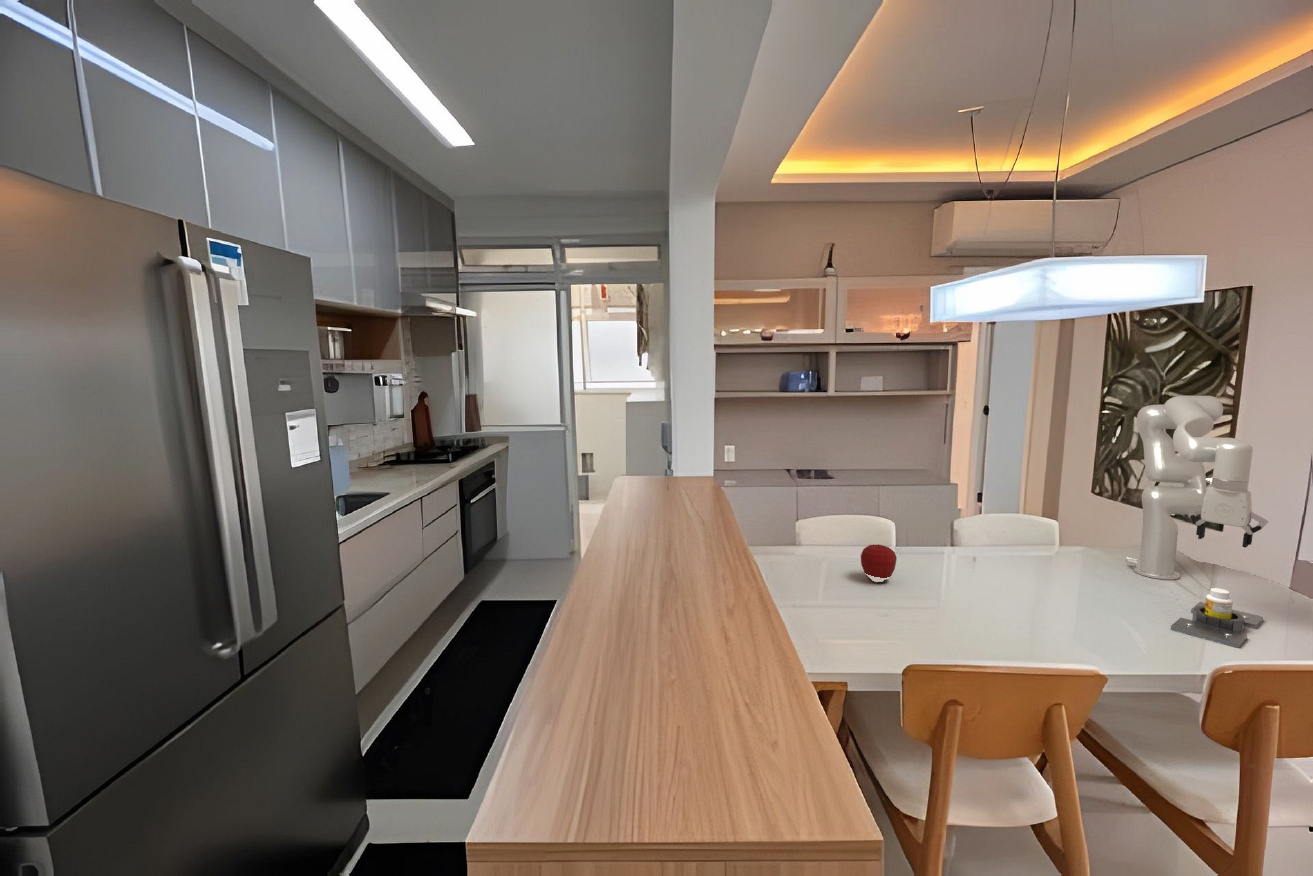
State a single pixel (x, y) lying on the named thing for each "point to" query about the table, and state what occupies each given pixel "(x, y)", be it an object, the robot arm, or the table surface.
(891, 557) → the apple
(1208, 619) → the ring mounting bracket
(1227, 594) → the supplement bottle
